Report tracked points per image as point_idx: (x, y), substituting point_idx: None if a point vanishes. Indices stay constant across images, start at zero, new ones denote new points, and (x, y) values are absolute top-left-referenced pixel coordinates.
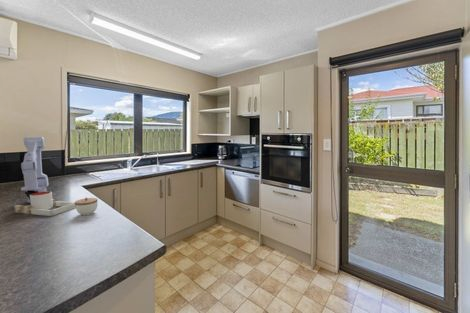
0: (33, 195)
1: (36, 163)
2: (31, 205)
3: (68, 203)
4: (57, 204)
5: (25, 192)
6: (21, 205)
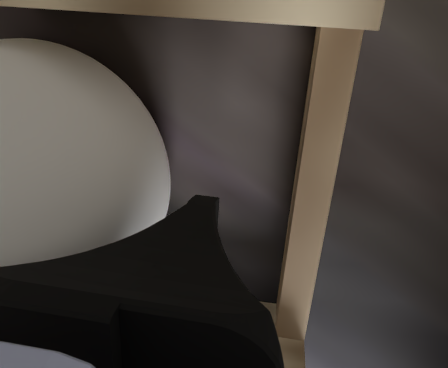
0: None
1: None
2: (13, 51)
3: None
4: None
5: (219, 339)
6: (221, 15)
